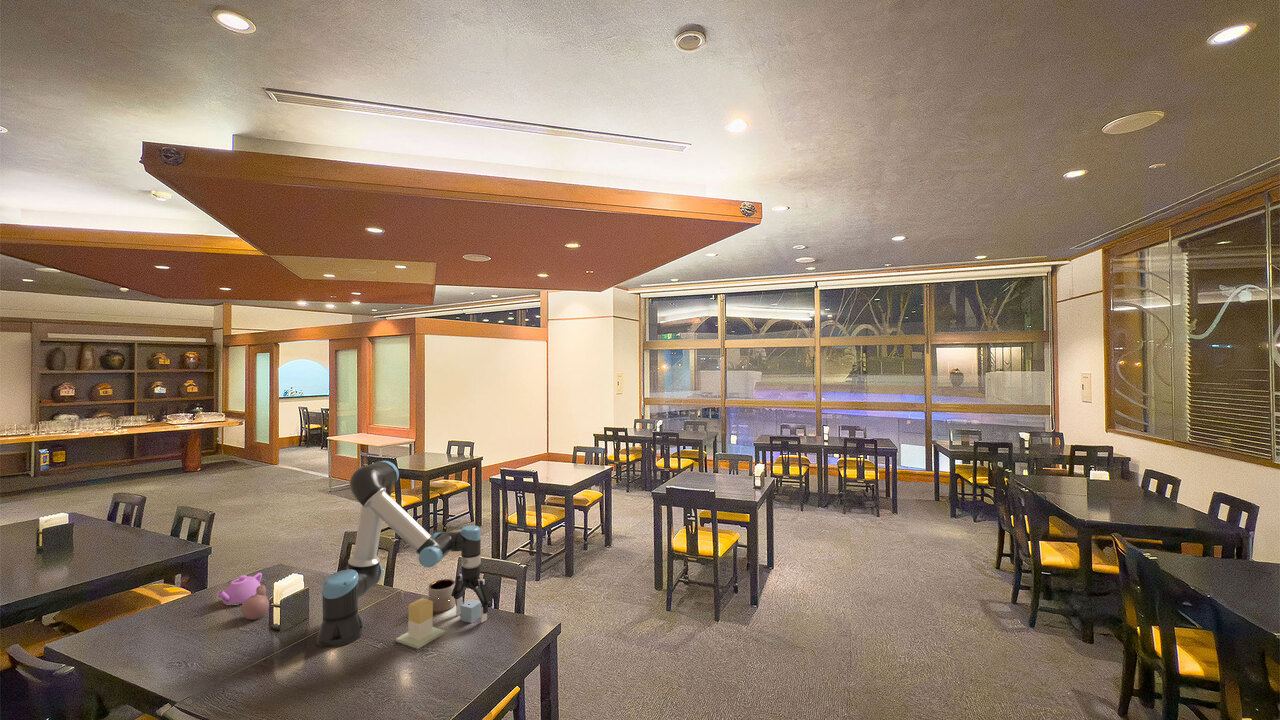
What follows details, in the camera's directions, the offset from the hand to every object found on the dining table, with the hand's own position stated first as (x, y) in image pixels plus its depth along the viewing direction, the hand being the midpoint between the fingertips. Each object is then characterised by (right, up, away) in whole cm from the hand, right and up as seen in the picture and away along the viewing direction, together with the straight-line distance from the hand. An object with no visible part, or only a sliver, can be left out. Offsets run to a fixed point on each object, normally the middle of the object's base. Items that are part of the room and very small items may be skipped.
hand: (471, 617), depth 200 cm
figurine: (-91, -1, +2) cm, 91 cm away
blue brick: (0, 0, 0) cm, 0 cm away
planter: (-16, -1, +10) cm, 19 cm away
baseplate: (-15, 0, -14) cm, 20 cm away
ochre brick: (-15, +7, -14) cm, 21 cm away
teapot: (-109, -2, +18) cm, 111 cm away
